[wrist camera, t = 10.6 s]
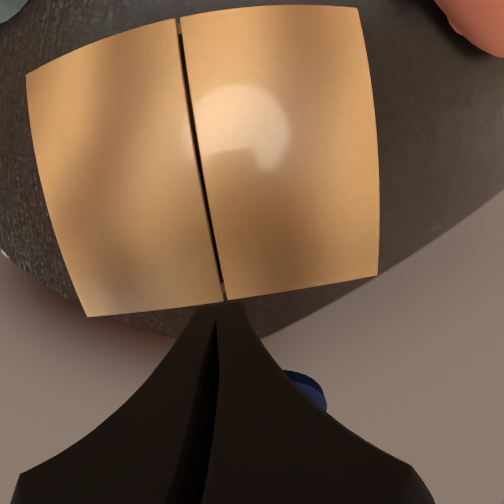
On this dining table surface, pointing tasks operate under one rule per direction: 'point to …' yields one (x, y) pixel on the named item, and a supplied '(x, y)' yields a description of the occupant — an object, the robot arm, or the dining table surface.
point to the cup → (10, 8)
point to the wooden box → (126, 173)
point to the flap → (286, 144)
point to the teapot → (477, 22)
